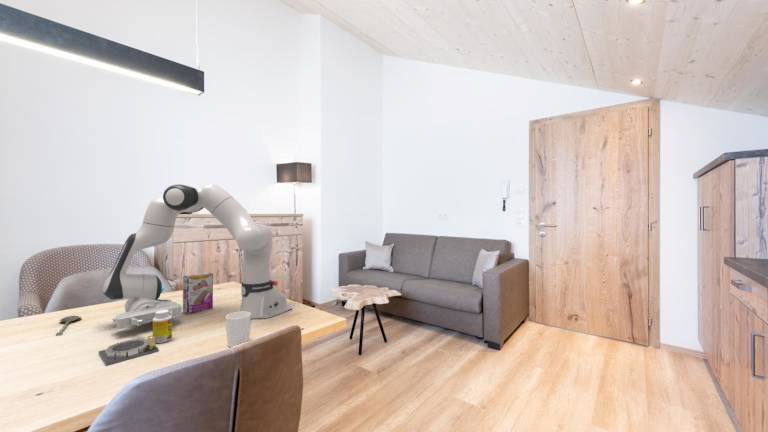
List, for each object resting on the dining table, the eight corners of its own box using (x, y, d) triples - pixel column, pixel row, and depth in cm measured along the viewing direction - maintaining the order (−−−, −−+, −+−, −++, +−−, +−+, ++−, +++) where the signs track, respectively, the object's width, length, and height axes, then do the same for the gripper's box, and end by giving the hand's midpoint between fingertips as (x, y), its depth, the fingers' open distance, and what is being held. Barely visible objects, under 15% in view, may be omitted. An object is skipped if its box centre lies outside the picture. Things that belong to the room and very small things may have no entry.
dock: (148, 341, 112) (147, 327, 112) (158, 351, 105) (158, 336, 104) (98, 353, 103) (98, 338, 103) (106, 365, 95) (105, 349, 95)
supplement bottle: (170, 342, 112) (170, 312, 112) (151, 345, 109) (150, 314, 109) (173, 336, 117) (172, 308, 117) (154, 339, 114) (154, 310, 114)
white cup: (241, 350, 106) (241, 319, 105) (220, 348, 107) (220, 317, 107) (255, 340, 113) (255, 312, 113) (235, 338, 115) (235, 310, 115)
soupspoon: (83, 319, 137) (62, 323, 134) (83, 311, 137) (61, 315, 134) (71, 334, 119) (45, 339, 115) (70, 325, 119) (45, 330, 115)
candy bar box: (187, 314, 141) (187, 277, 140) (182, 312, 144) (182, 275, 143) (213, 308, 150) (213, 273, 149) (208, 306, 153) (208, 271, 152)
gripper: (111, 310, 120) (119, 318, 111) (174, 298, 135) (186, 304, 126) (111, 326, 120) (119, 336, 111) (174, 313, 135) (186, 320, 126)
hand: (155, 319), depth 119 cm, fingers open, 8 cm apart
